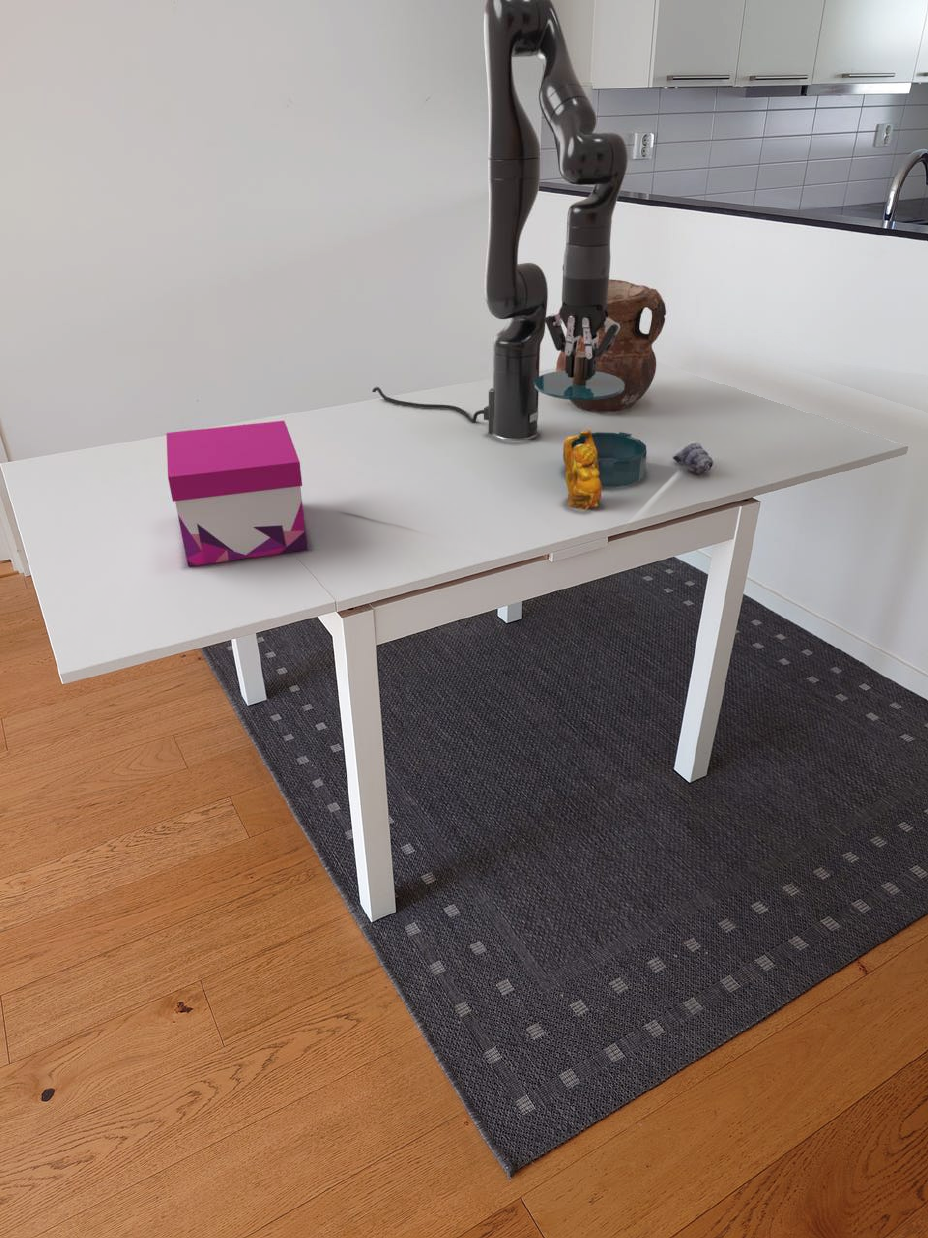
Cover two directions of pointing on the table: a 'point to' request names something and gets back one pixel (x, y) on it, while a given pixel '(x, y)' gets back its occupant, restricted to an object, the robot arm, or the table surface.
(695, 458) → the seashell
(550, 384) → the lid
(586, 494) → the figurine
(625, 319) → the jug
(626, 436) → the pot
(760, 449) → the table surface
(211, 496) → the decorative box
